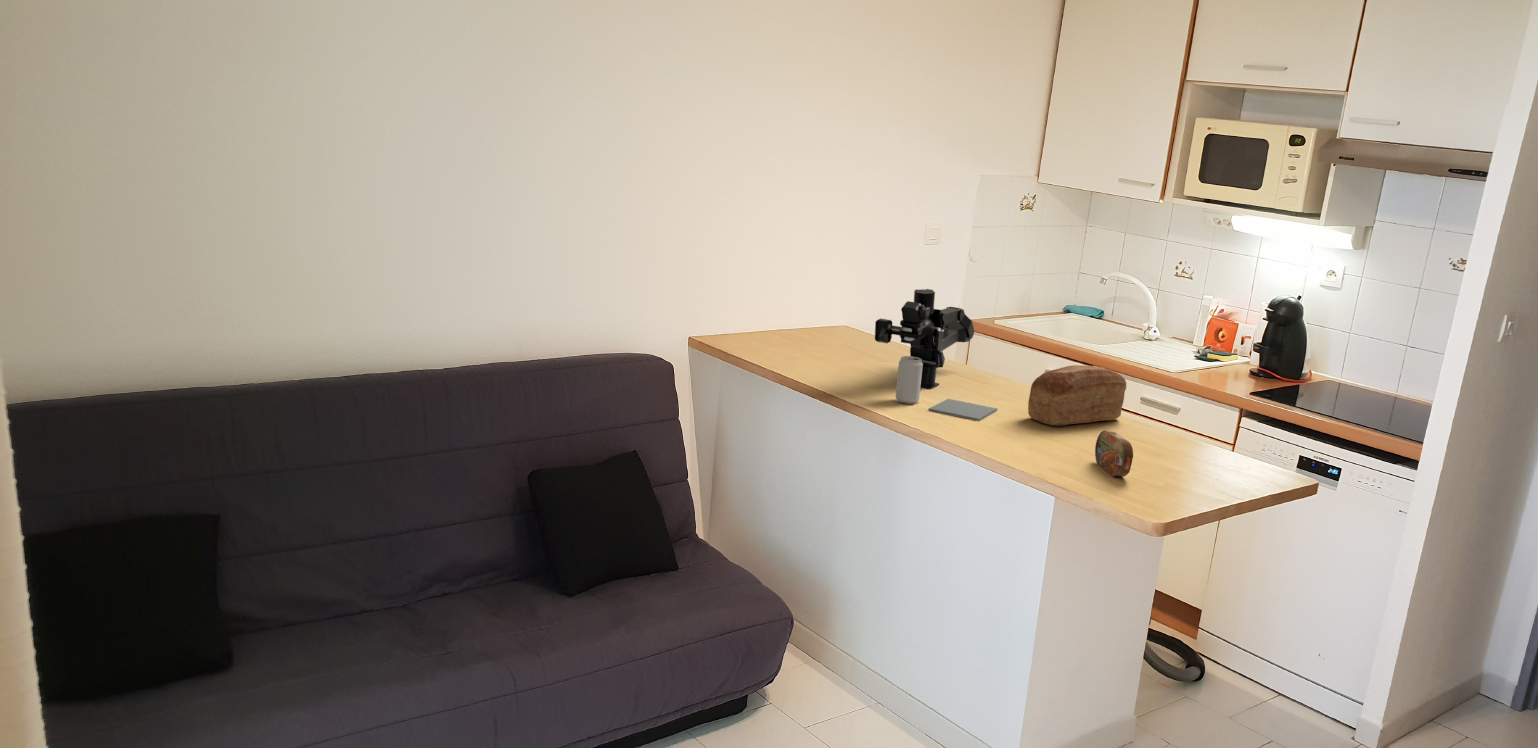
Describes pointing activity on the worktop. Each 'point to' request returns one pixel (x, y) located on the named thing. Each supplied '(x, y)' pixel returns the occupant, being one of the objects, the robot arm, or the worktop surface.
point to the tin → (1113, 453)
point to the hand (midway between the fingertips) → (895, 341)
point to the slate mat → (963, 409)
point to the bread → (1076, 395)
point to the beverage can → (909, 379)
